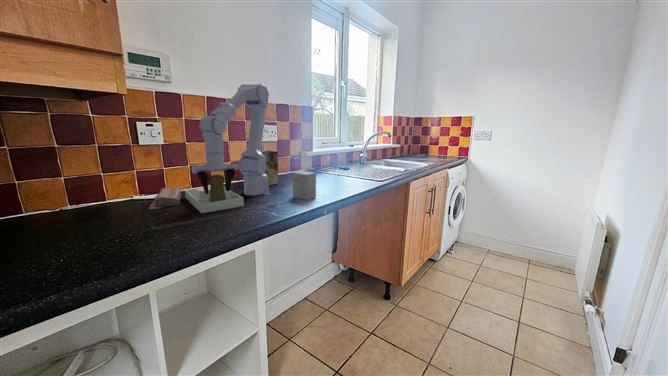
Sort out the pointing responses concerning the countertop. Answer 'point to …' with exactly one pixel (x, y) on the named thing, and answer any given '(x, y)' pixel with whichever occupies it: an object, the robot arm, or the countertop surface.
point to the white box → (202, 194)
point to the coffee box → (271, 166)
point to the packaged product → (166, 198)
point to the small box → (304, 185)
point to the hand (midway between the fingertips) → (217, 191)
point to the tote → (203, 207)
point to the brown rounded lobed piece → (216, 188)
